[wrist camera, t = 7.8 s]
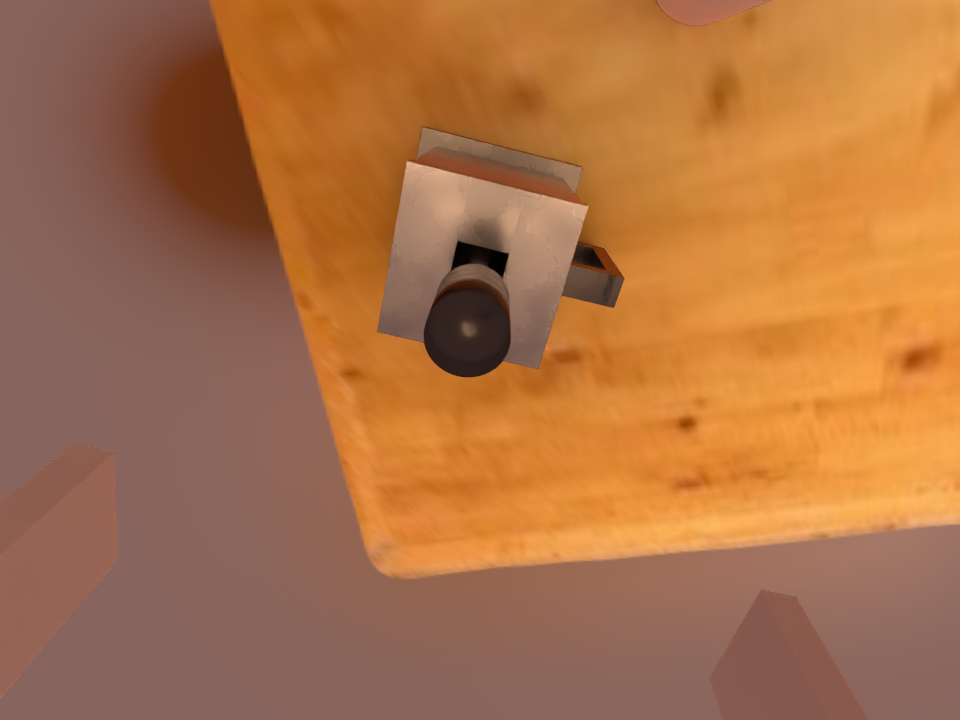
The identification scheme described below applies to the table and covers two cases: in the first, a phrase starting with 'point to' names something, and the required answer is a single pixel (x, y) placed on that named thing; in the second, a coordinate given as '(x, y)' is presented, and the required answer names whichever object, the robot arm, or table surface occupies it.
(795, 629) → the robot arm
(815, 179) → the table surface
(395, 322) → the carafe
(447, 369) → the plunger
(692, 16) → the cylindrical container
